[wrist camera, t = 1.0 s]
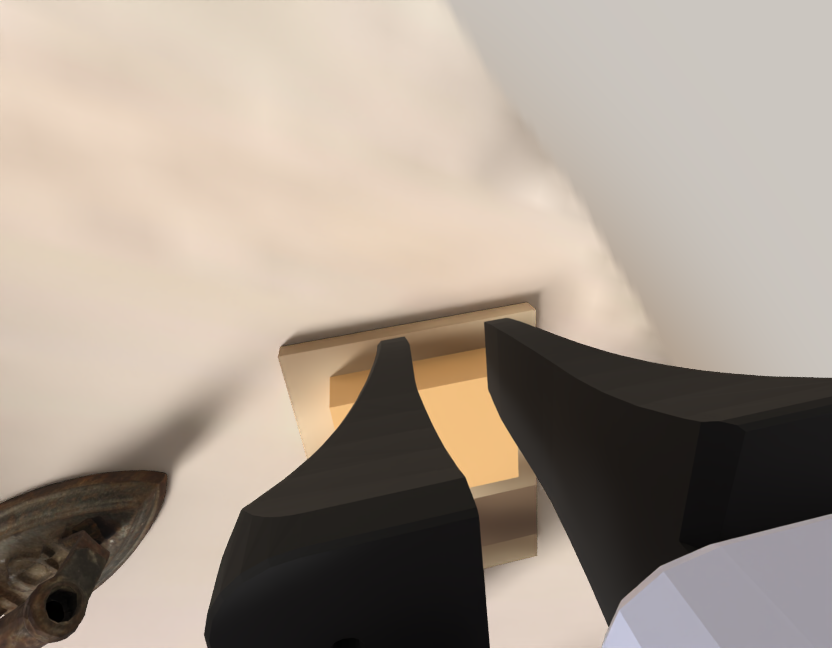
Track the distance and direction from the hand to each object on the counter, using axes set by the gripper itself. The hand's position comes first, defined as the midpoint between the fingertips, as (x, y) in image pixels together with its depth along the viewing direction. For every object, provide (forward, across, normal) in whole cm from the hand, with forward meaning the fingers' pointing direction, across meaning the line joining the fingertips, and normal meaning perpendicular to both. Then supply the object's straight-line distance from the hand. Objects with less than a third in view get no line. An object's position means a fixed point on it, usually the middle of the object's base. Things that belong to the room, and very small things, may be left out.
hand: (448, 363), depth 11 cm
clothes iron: (+10, +18, +11) cm, 23 cm away
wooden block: (+8, 0, +8) cm, 11 cm away
